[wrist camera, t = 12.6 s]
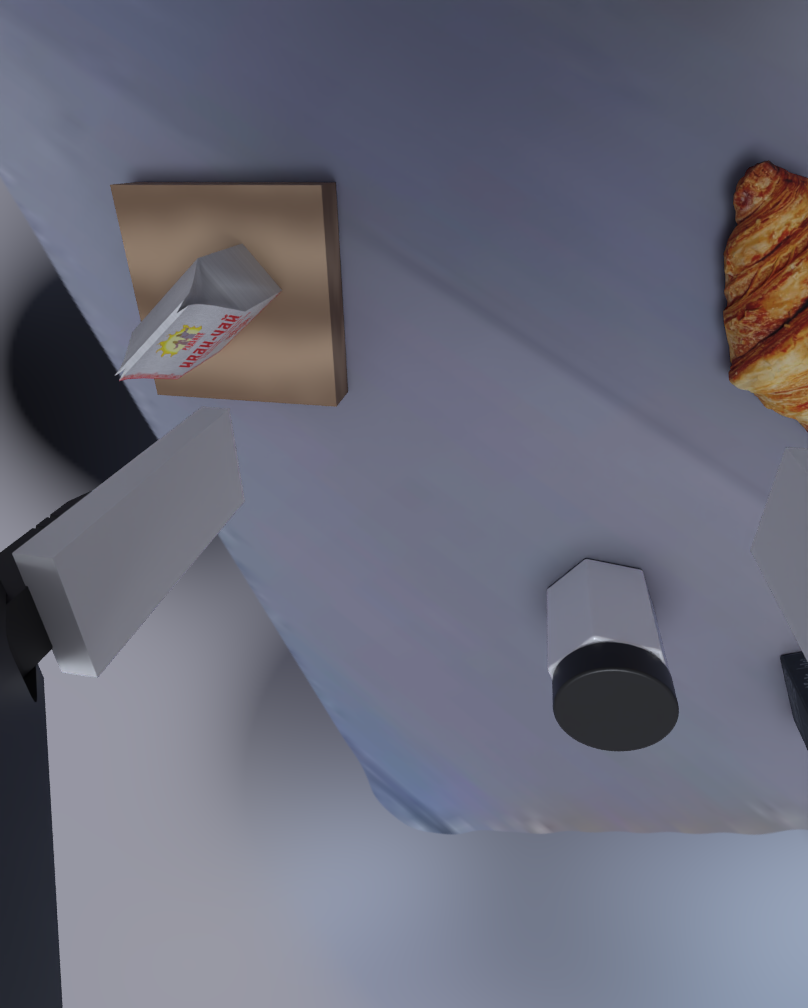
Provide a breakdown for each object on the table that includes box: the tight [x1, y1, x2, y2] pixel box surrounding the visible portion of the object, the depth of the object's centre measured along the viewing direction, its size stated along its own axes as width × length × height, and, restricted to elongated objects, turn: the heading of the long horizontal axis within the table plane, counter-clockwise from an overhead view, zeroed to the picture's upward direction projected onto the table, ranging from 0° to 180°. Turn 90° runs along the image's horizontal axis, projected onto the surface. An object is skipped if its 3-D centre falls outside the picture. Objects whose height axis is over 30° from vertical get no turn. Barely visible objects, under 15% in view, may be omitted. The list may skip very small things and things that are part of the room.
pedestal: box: [110, 182, 348, 407], centre depth 42 cm, size 14×14×3 cm
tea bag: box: [116, 244, 282, 381], centre depth 36 cm, size 4×7×10 cm, turn 130°
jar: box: [547, 559, 679, 751], centre depth 46 cm, size 9×8×12 cm
